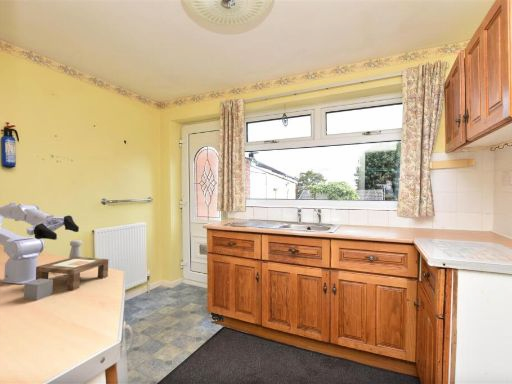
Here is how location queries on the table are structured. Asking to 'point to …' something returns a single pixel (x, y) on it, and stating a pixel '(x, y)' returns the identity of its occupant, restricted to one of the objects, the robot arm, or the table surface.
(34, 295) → the pale grey cube
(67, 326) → the table surface
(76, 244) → the salt shaker
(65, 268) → the trapdoor frame
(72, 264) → the trapdoor
